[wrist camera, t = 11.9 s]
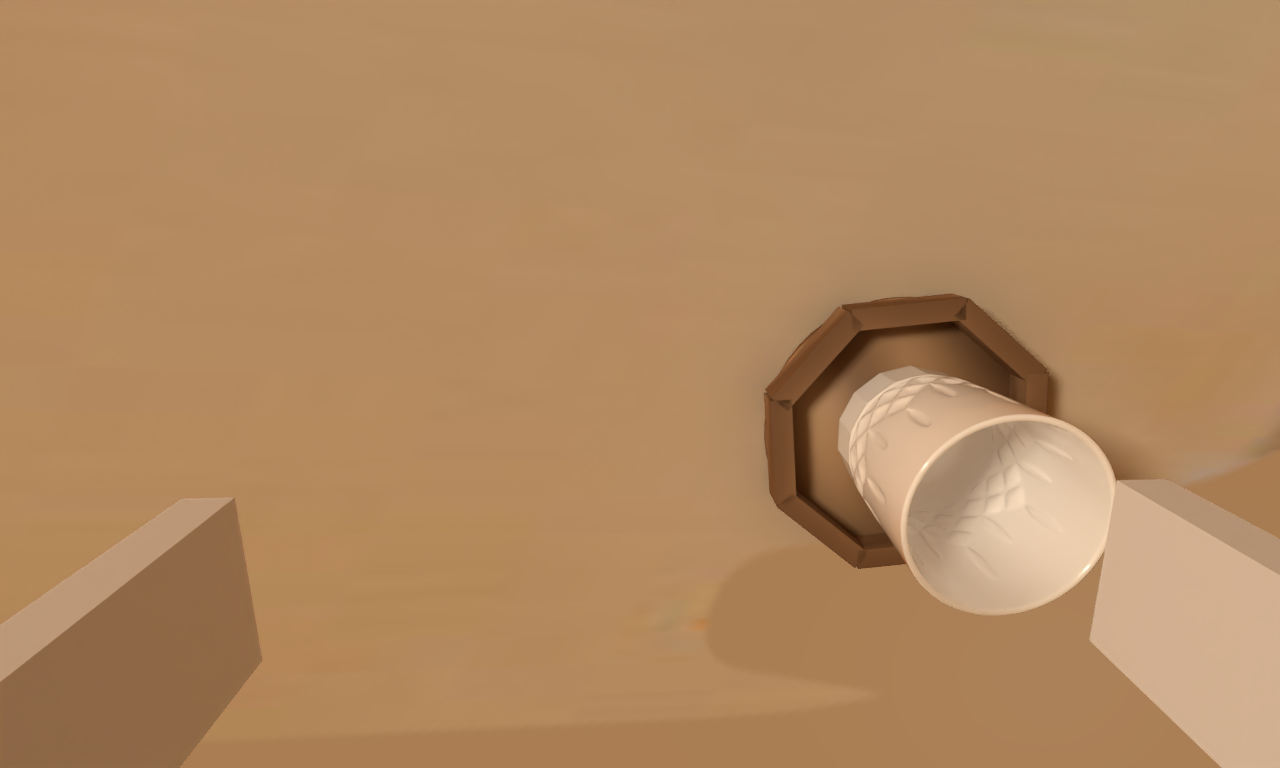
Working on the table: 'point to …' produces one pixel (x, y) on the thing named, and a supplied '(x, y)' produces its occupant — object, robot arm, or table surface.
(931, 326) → the coaster ring
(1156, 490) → the robot arm
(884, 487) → the white cup
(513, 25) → the table surface
